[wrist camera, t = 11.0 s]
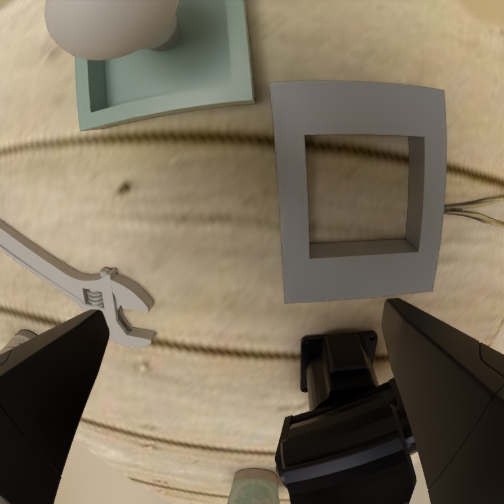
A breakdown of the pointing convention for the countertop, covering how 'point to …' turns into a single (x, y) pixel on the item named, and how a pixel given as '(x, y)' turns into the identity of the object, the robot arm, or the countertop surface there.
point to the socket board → (419, 193)
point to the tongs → (456, 207)
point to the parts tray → (172, 70)
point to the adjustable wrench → (84, 287)
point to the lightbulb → (112, 26)
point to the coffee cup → (254, 487)
